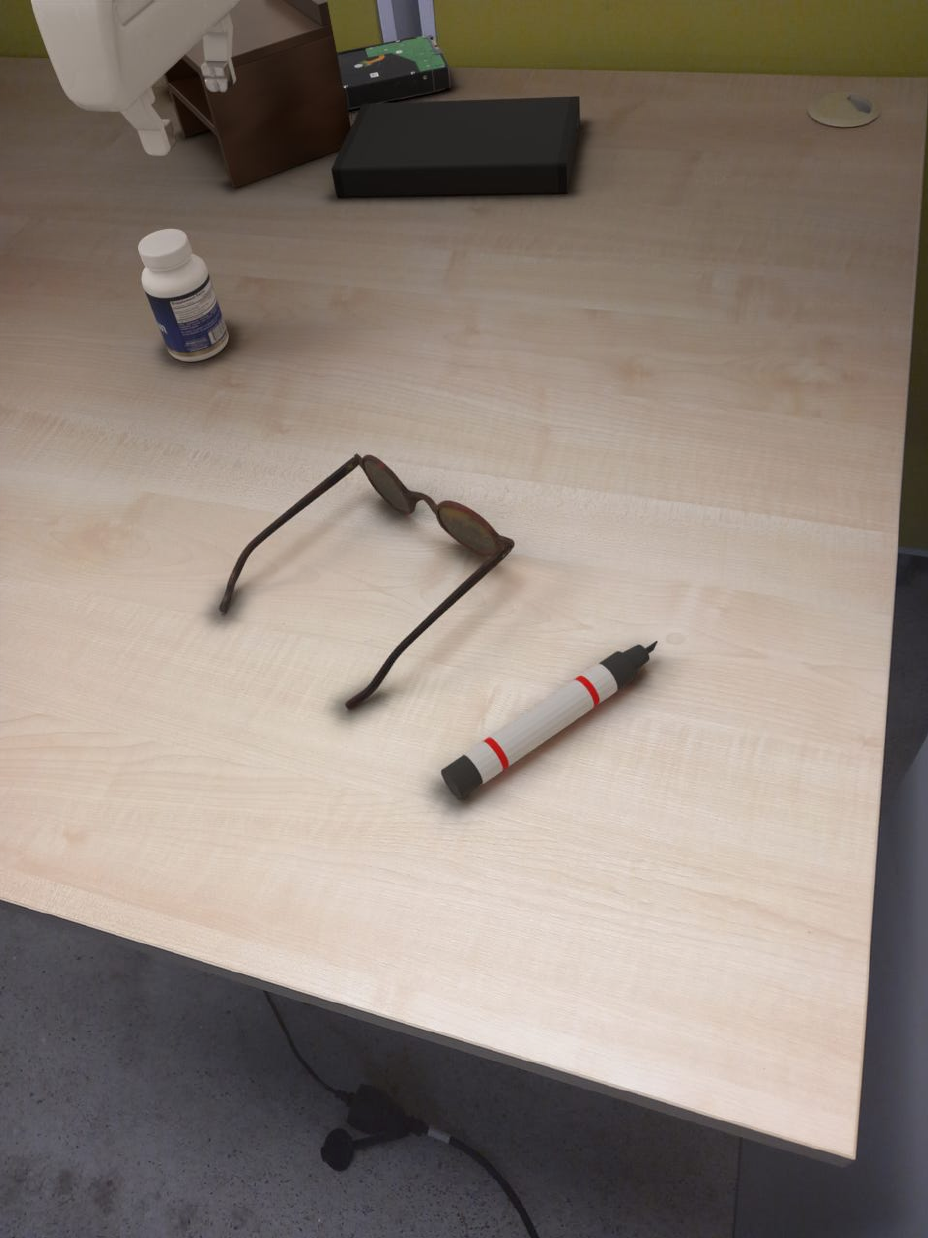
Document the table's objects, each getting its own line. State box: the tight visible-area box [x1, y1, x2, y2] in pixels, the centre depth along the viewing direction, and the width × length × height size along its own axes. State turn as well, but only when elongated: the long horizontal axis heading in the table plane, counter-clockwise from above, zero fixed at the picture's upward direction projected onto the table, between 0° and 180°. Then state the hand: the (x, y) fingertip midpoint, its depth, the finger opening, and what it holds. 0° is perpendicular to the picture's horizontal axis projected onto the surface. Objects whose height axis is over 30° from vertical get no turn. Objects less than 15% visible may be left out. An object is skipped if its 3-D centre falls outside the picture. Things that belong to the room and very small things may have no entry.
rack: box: [163, 0, 352, 189], centre depth 107 cm, size 14×16×14 cm
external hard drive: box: [331, 95, 581, 198], centre depth 104 cm, size 14×23×3 cm, turn 81°
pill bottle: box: [137, 228, 229, 363], centre depth 85 cm, size 5×5×10 cm
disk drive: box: [337, 34, 452, 111], centre depth 118 cm, size 10×3×15 cm
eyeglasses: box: [218, 452, 516, 710], centre depth 66 cm, size 15×15×5 cm
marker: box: [440, 640, 659, 800], centre depth 59 cm, size 15×2×2 cm, turn 126°
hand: (193, 117), depth 72 cm, fingers open, 8 cm apart
